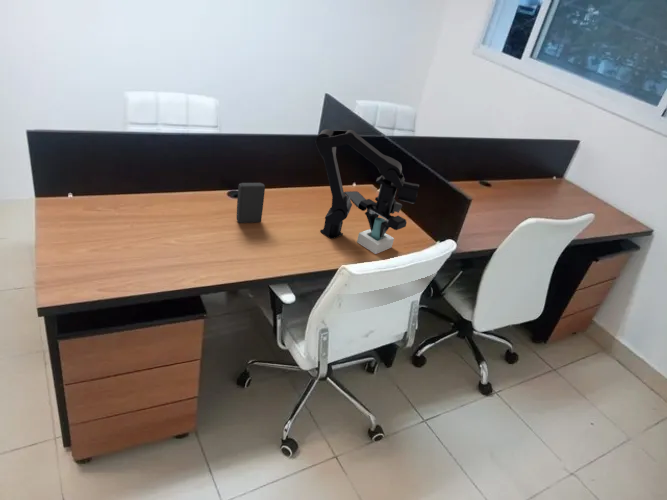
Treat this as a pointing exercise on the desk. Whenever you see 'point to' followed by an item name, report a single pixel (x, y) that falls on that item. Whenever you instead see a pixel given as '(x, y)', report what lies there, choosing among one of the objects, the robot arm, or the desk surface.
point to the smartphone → (355, 197)
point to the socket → (375, 242)
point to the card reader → (250, 202)
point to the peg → (377, 228)
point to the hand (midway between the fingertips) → (376, 234)
